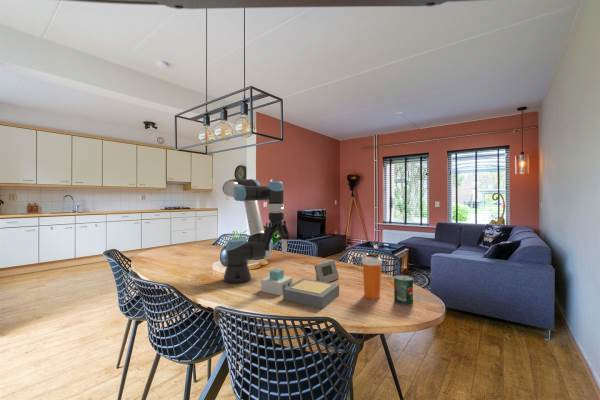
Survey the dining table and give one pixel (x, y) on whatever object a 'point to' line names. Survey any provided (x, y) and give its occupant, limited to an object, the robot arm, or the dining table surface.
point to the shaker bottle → (372, 275)
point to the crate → (276, 274)
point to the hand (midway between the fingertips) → (276, 254)
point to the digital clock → (326, 271)
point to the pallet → (275, 285)
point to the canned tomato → (403, 290)
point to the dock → (311, 293)
